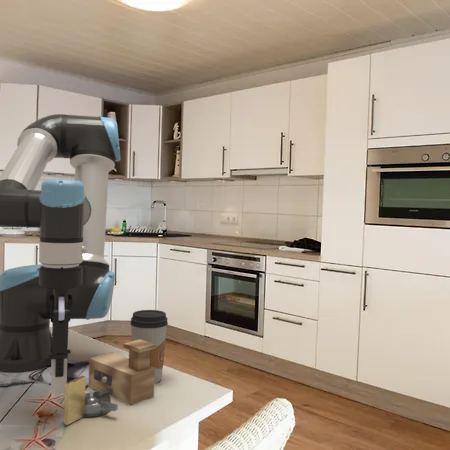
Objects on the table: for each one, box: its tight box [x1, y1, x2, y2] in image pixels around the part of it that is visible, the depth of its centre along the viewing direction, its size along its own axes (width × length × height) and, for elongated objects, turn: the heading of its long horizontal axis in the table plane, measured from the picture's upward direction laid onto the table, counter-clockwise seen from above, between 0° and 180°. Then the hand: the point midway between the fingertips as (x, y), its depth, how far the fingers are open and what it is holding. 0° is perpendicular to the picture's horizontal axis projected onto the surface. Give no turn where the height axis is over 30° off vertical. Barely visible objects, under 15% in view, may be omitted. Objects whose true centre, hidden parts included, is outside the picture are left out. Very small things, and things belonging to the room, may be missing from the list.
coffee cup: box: [130, 309, 169, 384], centre depth 106 cm, size 8×8×15 cm
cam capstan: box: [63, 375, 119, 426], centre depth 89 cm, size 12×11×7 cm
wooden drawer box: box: [88, 339, 156, 406], centre depth 99 cm, size 14×7×11 cm, turn 50°
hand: (58, 391), depth 88 cm, fingers closed
